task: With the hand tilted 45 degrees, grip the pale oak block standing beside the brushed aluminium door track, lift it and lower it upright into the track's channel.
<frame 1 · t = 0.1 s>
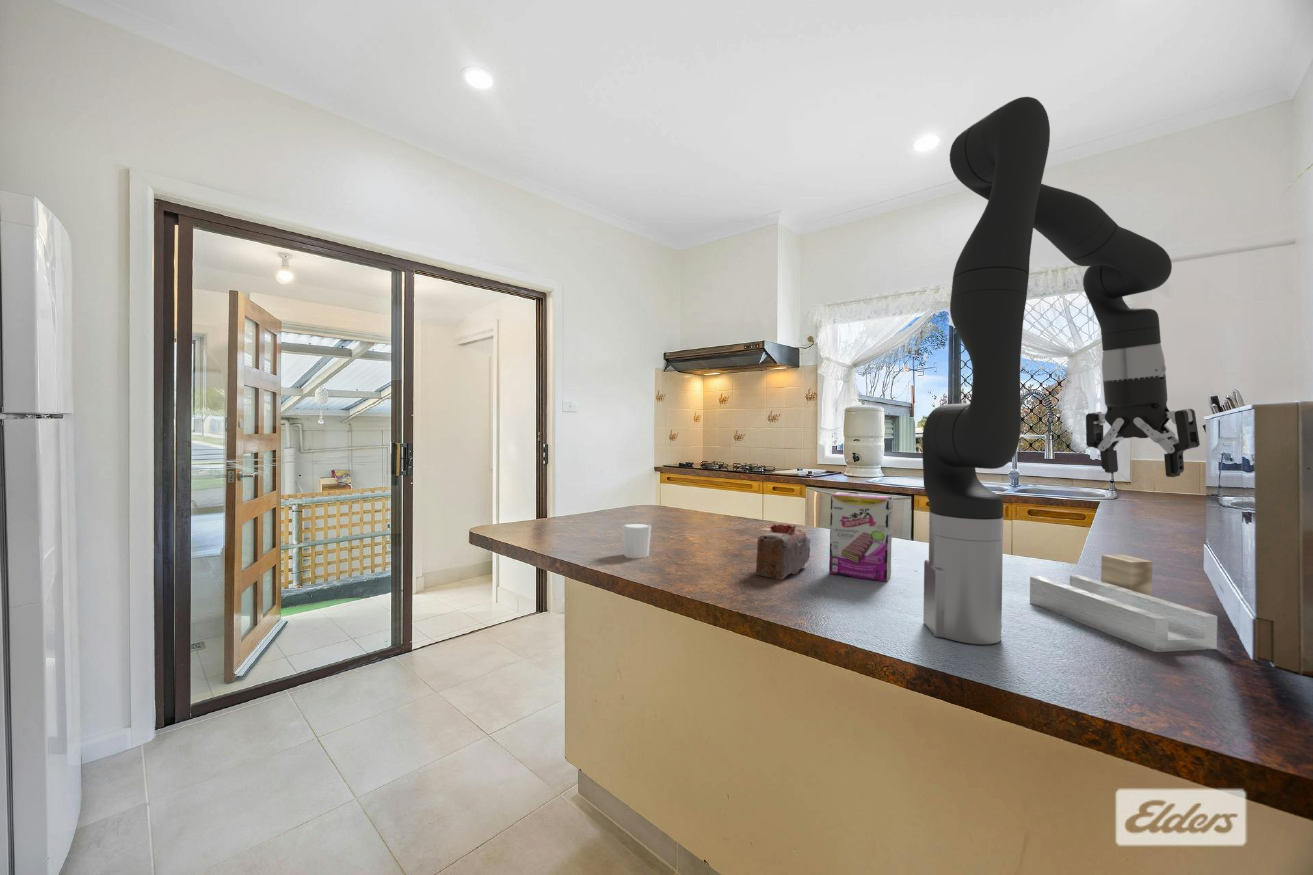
hand: (1141, 474, 85), 22 cm above the table, tool pointing down, fingers open, 8 cm apart
white cylinder: (636, 556, 121), on the table
door track: (1112, 623, 80), on the table
candy bar box: (859, 576, 105), on the table
oak block: (1125, 605, 89), on the table
food item: (783, 572, 109), on the table
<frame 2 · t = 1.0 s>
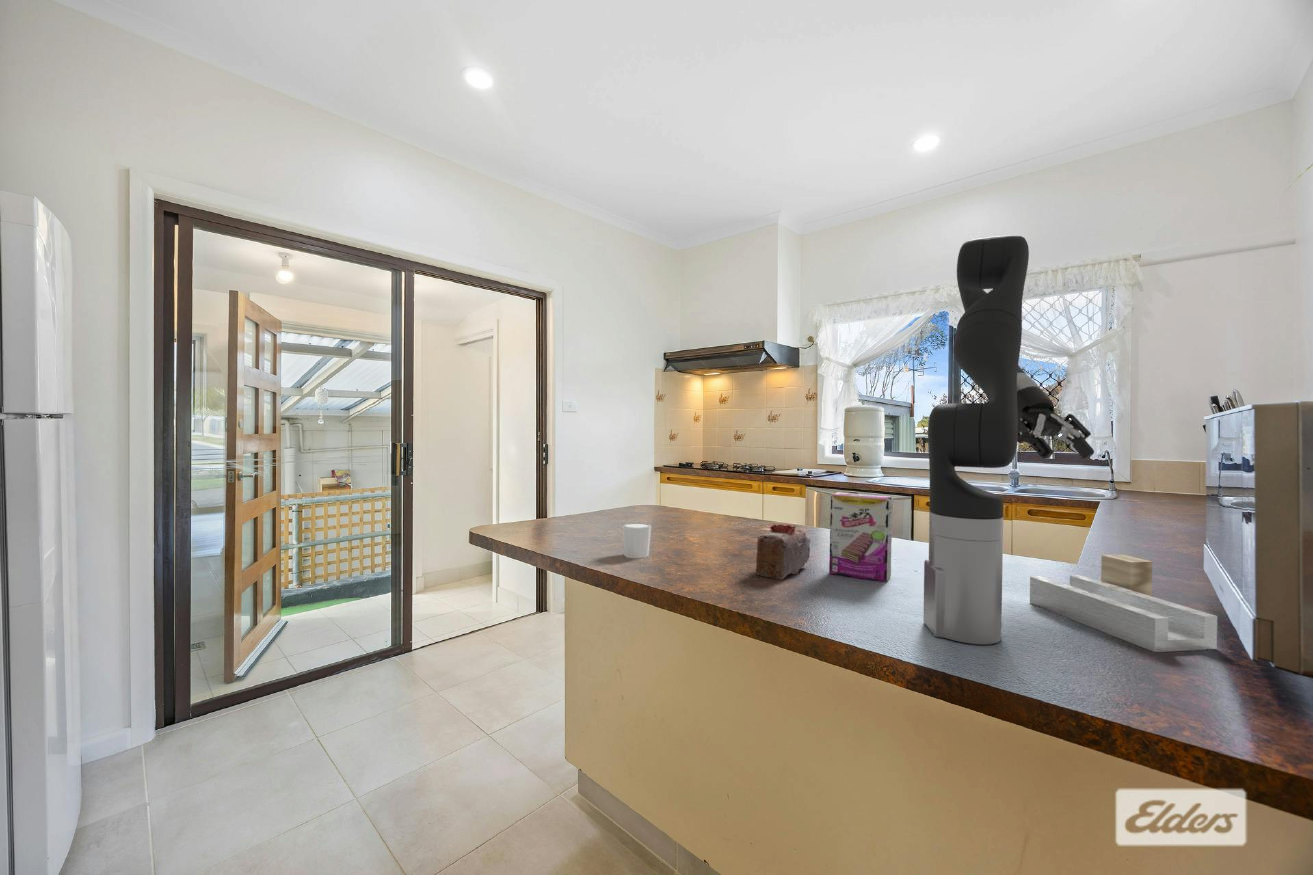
hand: (1069, 456, 100), 25 cm above the table, tool tilted 45°, fingers open, 8 cm apart
nothing on the table moved.
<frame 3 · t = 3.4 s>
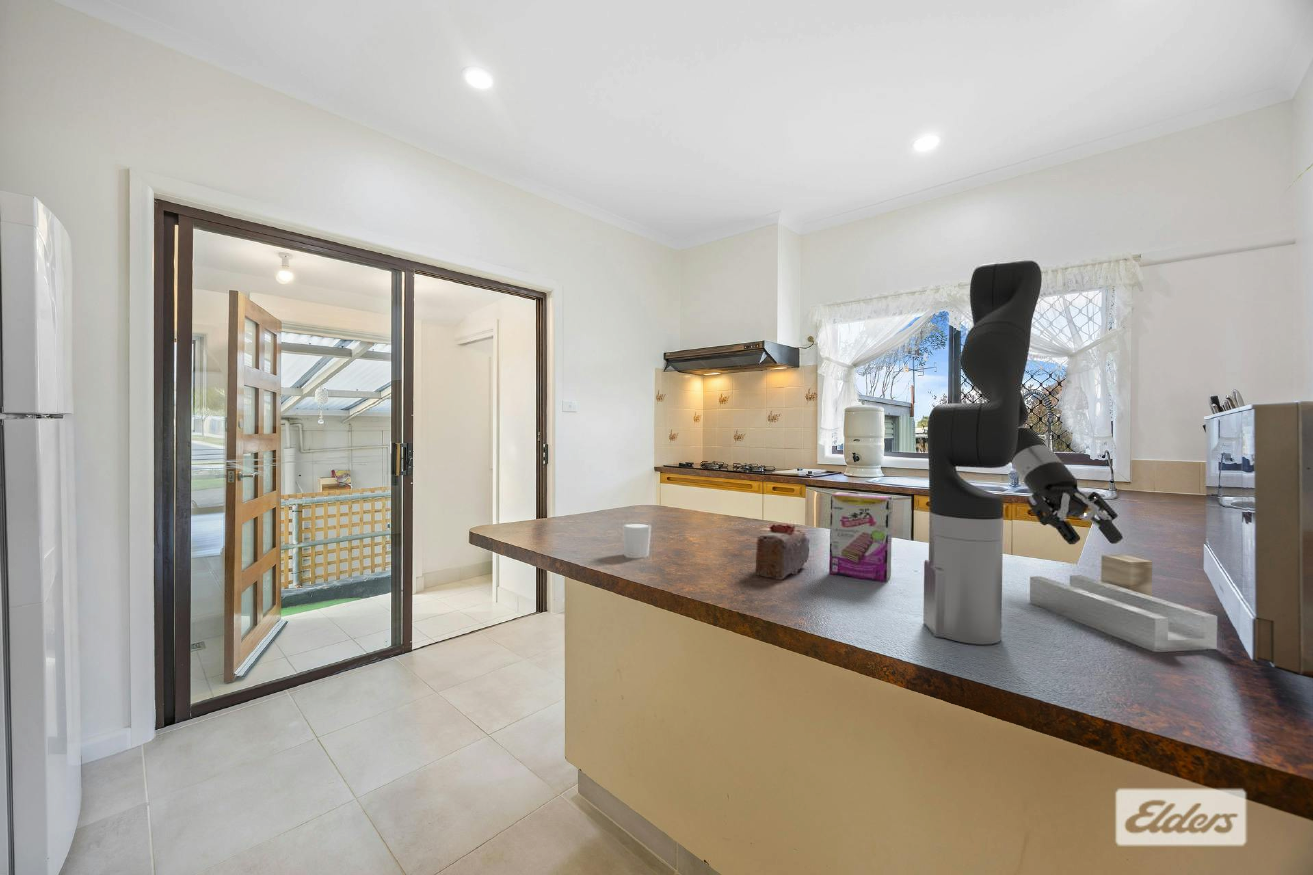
hand: (1096, 541, 94), 10 cm above the table, tool tilted 45°, fingers open, 8 cm apart
nothing on the table moved.
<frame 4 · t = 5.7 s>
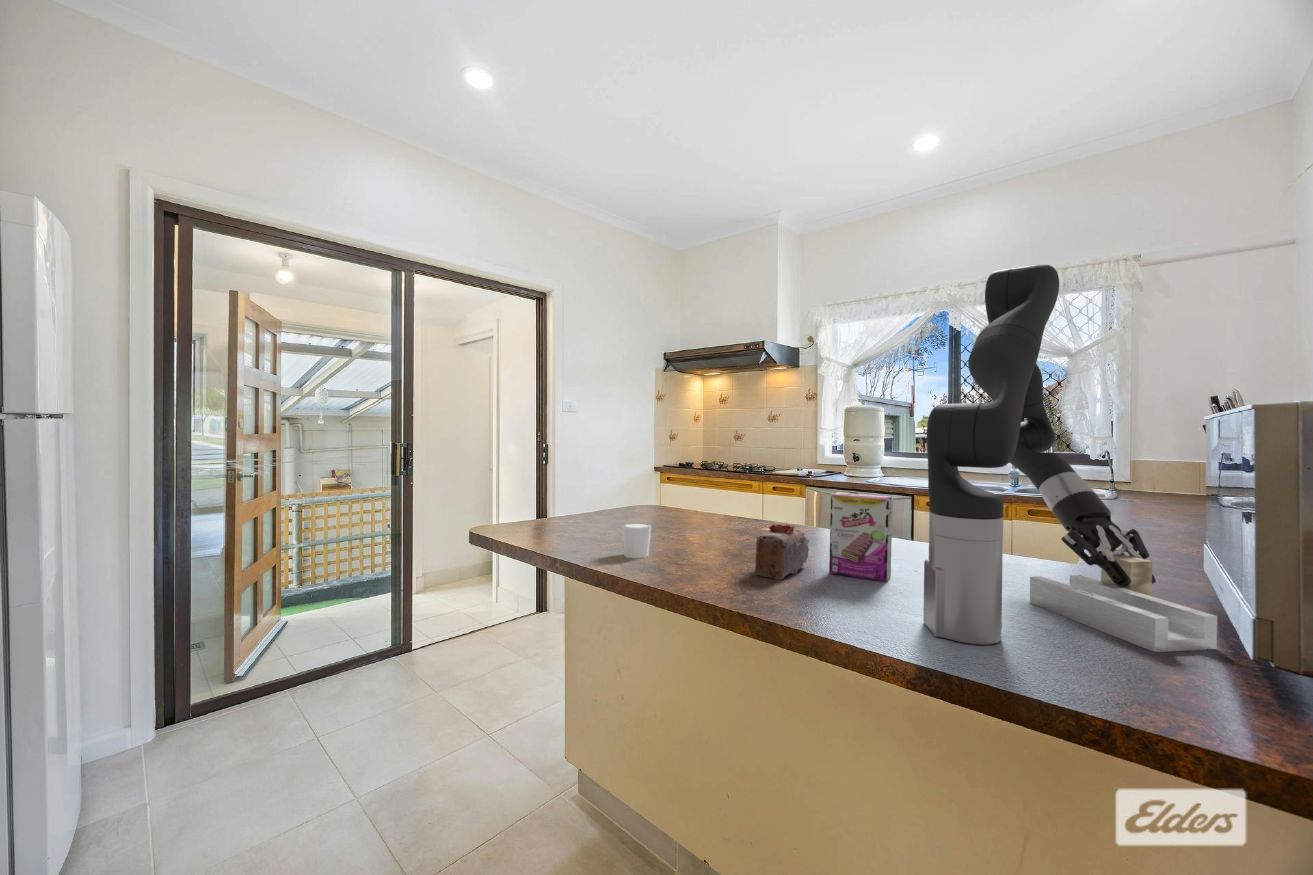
hand: (1137, 584, 87), 4 cm above the table, tool tilted 45°, fingers closed on oak block, 4 cm apart
oak block: (1125, 604, 89), on the table, touching gripper
everything else where it was.
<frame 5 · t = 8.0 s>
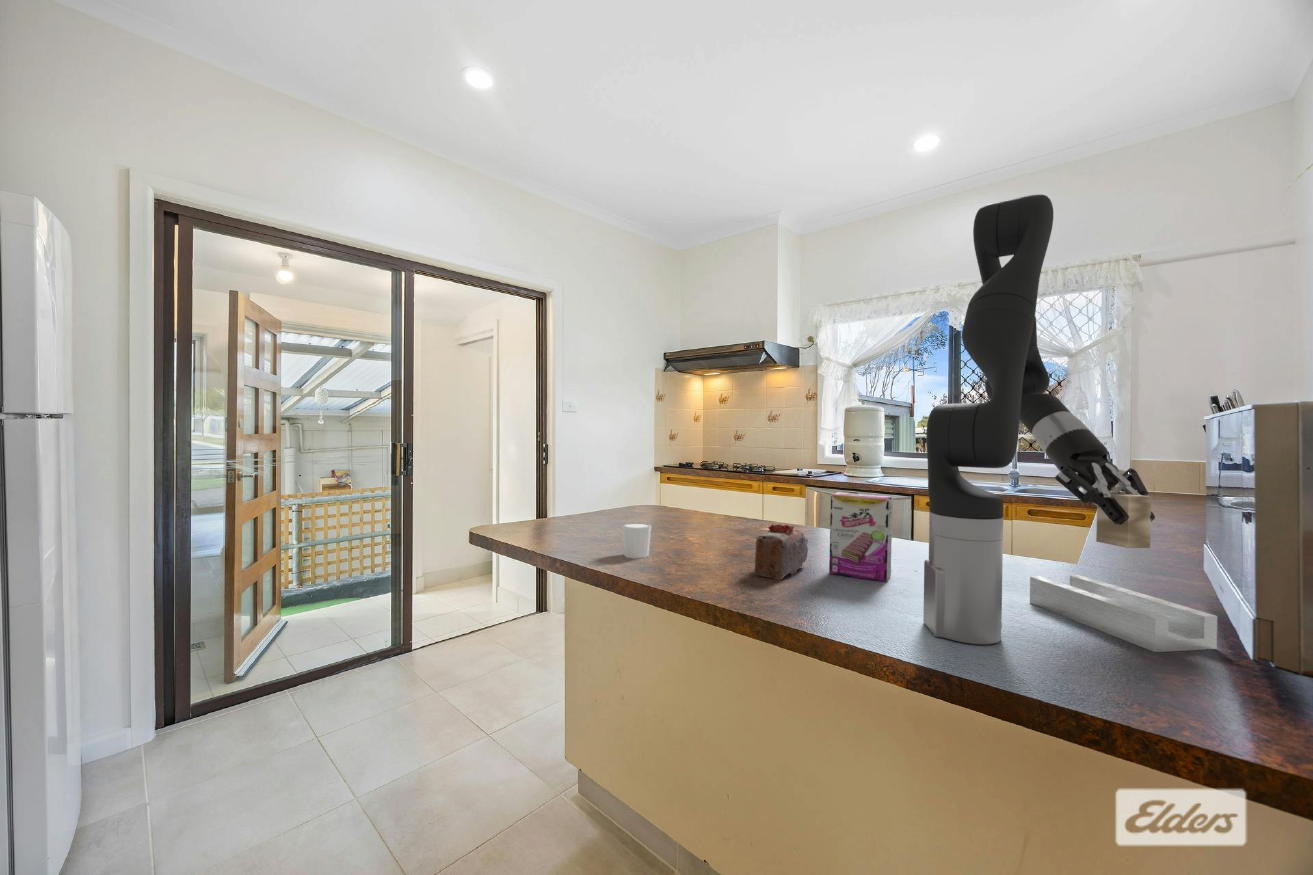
hand: (1135, 521, 81), 16 cm above the table, tool tilted 45°, fingers closed on oak block, 4 cm apart
oak block: (1122, 544, 83), point 11 cm above the table, touching gripper
everything else where it was.
when the fingers open (7 cm above the table, at t = 10.4 s): oak block drops 2 cm, resting on door track.
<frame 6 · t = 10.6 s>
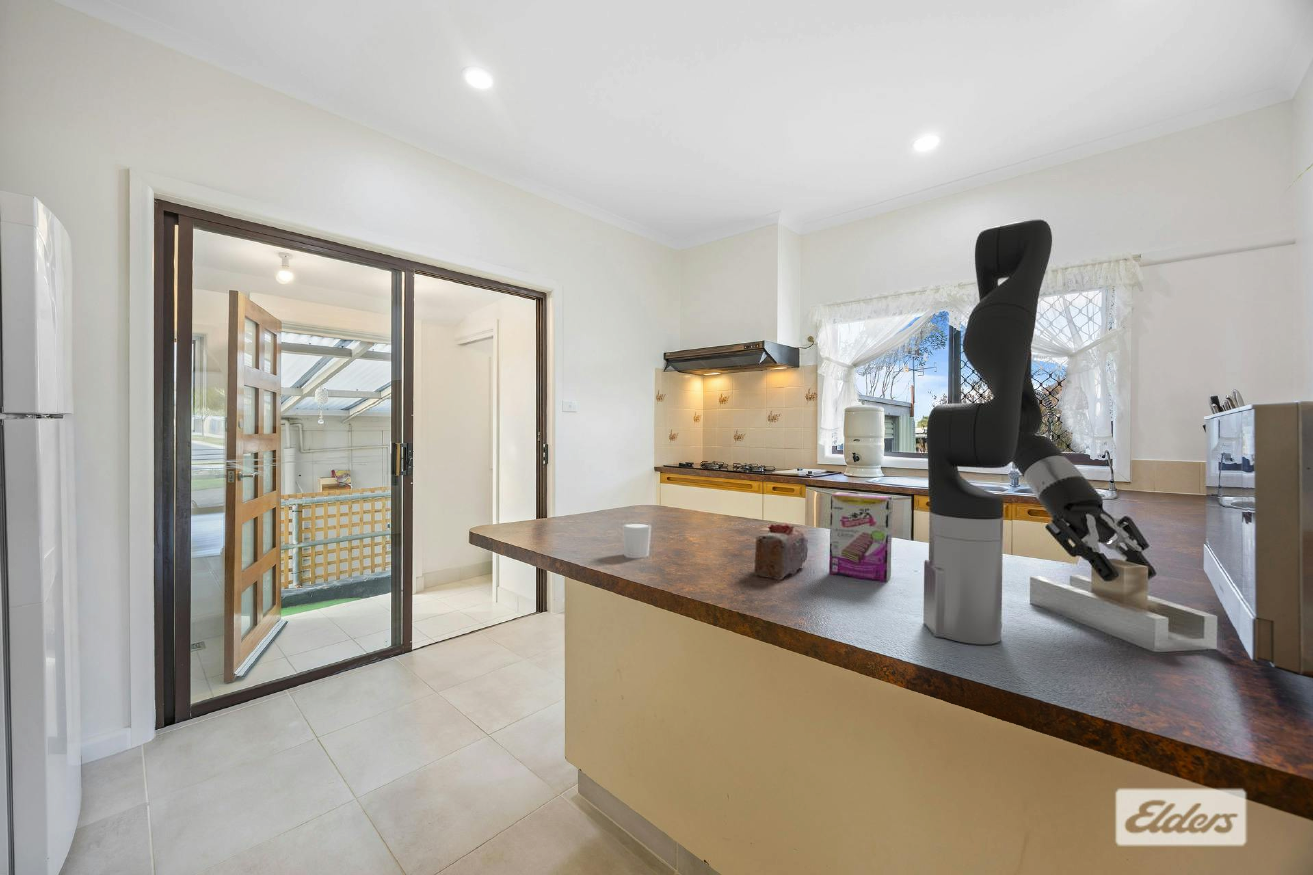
hand: (1131, 577, 77), 8 cm above the table, tool tilted 45°, fingers open, 5 cm apart
oak block: (1118, 615, 79), point 2 cm above the table, touching door track
everything else where it was.
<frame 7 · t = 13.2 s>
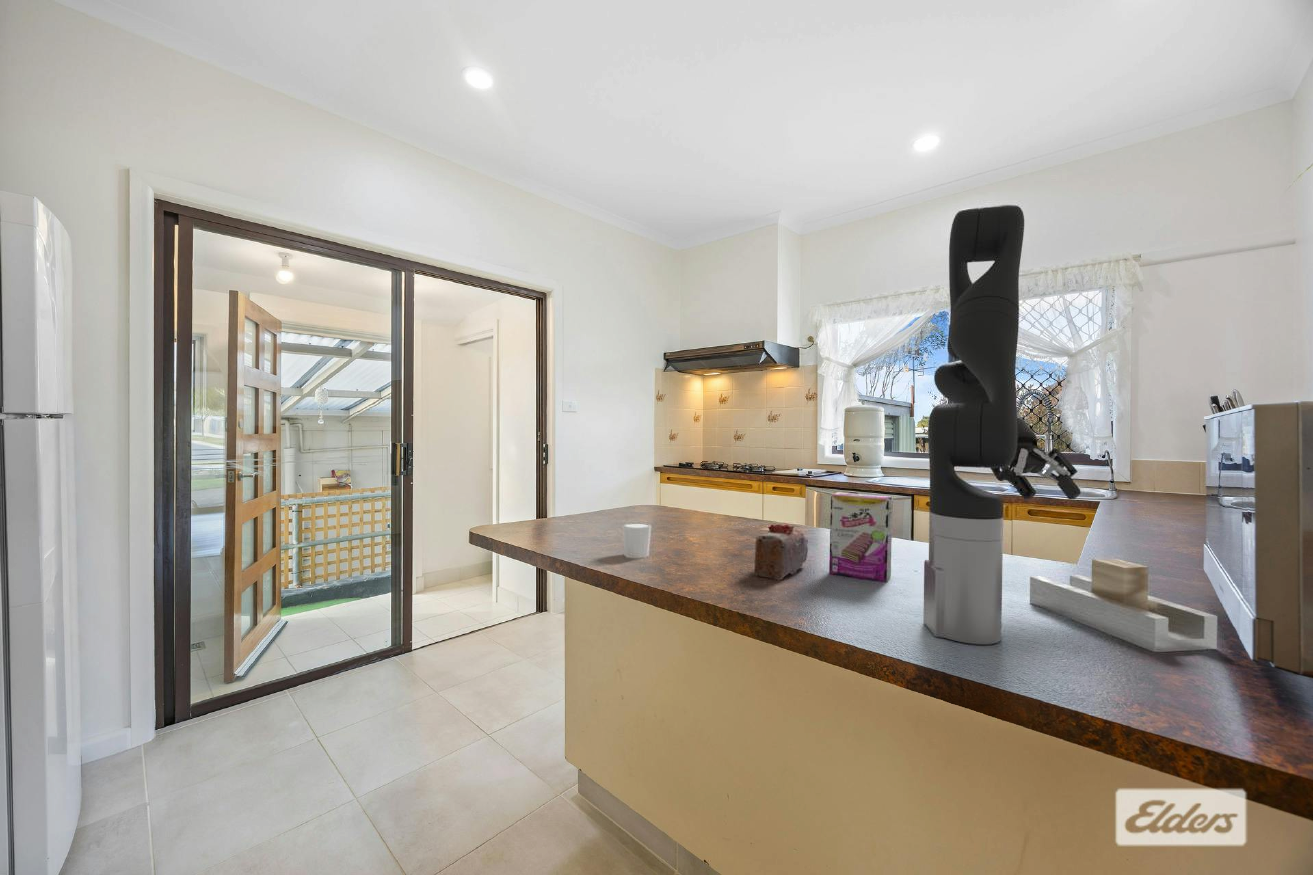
hand: (1053, 496, 90), 18 cm above the table, tool tilted 45°, fingers open, 8 cm apart
nothing on the table moved.
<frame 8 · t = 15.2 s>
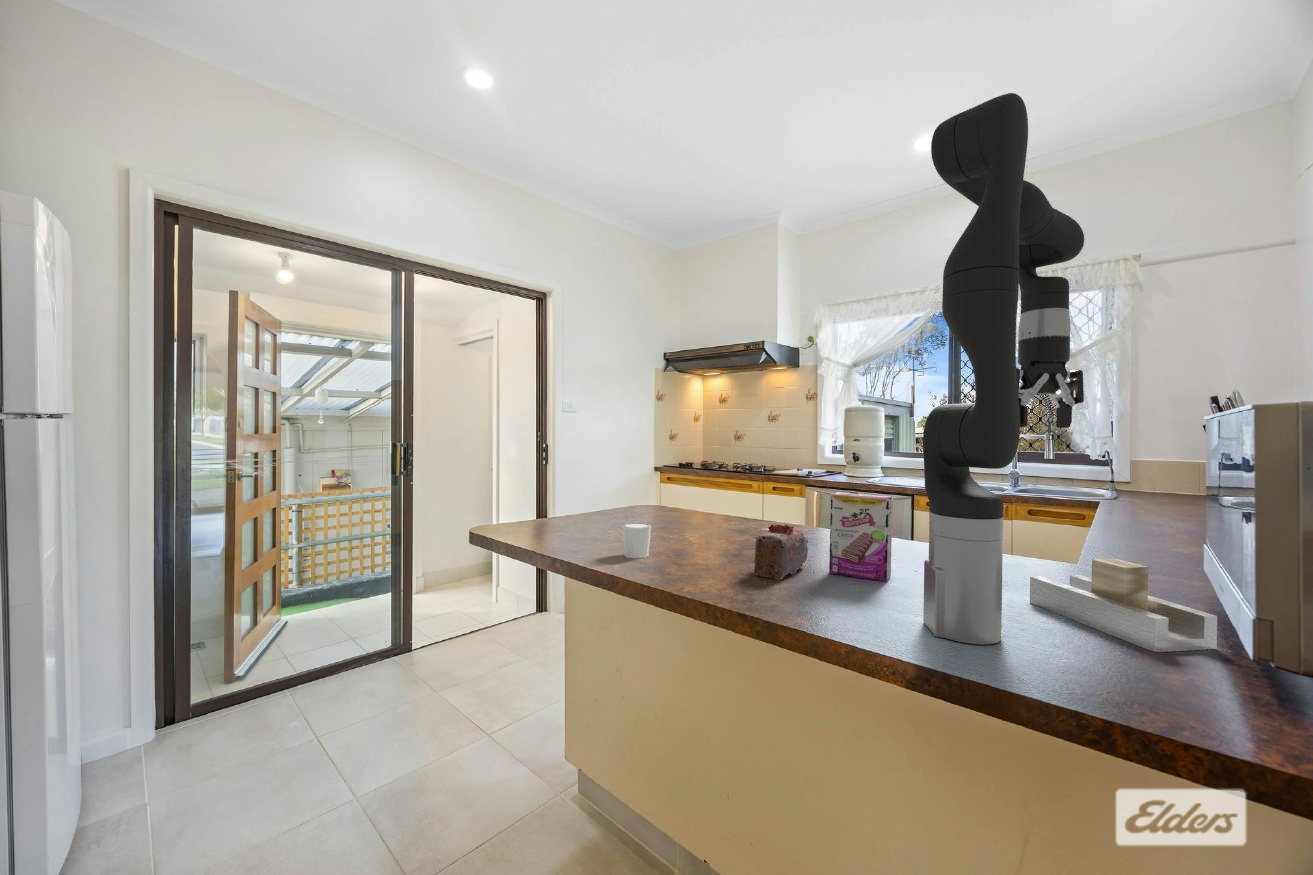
hand: (1041, 427, 94), 30 cm above the table, tool pointing down, fingers open, 8 cm apart
nothing on the table moved.
at the end: oak block inside the target area on the door track (0.9 cm from its centre), point 1.5 cm above the door track's base; oak block tilted 0°; the gripper is holding nothing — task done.
